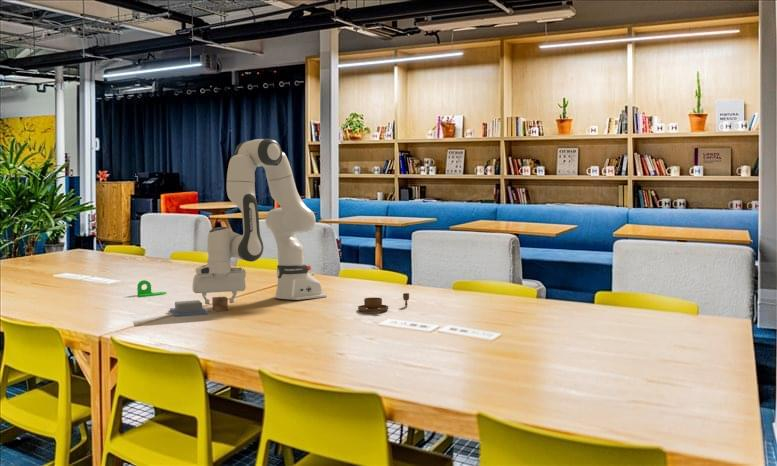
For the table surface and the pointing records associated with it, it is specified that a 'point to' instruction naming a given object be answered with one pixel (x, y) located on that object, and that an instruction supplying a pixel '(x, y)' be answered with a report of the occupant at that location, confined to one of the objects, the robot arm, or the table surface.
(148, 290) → the mechanical part
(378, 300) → the place setting
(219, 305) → the walnut cube
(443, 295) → the table surface
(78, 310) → the table surface
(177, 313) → the base
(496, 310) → the table surface
